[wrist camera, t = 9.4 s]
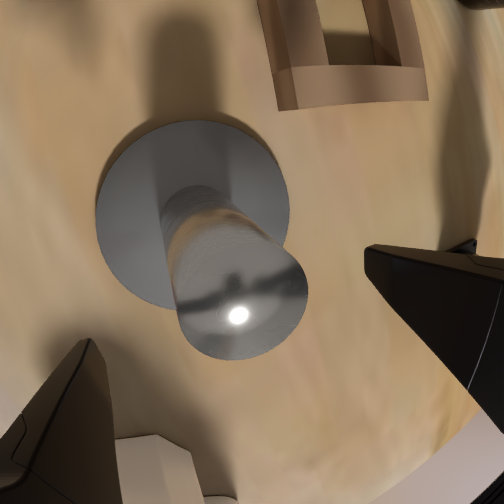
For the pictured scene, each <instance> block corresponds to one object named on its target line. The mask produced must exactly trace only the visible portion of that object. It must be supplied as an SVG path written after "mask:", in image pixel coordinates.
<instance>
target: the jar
mask: <svg viewBox="0 0 504 504" xmlns="http://www.w3.org/2000/svg"><path fill="white" fill-rule="evenodd" d="M115 448H116V458H117V466H118V474H119V481H120V488H121V495H122V501H123V504H205V501H204V498H203V495H202V491H201V488H200V485H199V481H198V478H197V474H196V471H195V467H194V464H193V460H192V456H191V453H190V452H189V451H187V450H185V449H183V448H181V447H179V446H177V445H175V444H173V443H172V442H170V441H168V440H166V439H164V438H163V437H161V436H159V435H157V434H155V435H148V436H141V437H134V438H125V439H116V440H115Z"/></svg>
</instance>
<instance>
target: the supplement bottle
mask: <svg viewBox="0 0 504 504" xmlns="http://www.w3.org/2000/svg"><path fill="white" fill-rule="evenodd" d="M458 1H459V2H460V3H461V4H462V5H464V6H465V7H467V8H469V9H471V10H485V9H497V8H504V0H458Z"/></svg>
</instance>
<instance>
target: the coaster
mask: <svg viewBox="0 0 504 504" xmlns="http://www.w3.org/2000/svg"><path fill="white" fill-rule="evenodd" d="M193 185H204V186H208V187H211V188H214V189H216V190H217V191H219V192H220V193H221V194H223V195H224V196H225V197H226V198H227V199H228V200H229V201H231V202H232V203H233V204H234V205H235V206H236V207H237V208H239V209H240V210H241V211H242V212H243V213H244V214H245V215H247V216H248V217H249V218H250V219H251V220H252V221H253V222H255V223H256V224H257V225H258V226H259V227H260V228H261V229H262V230H264V231H265V232H266V233H267V234H268V235H269V236H270V237H271V238H273V239H274V240H275V241H276V242H277V243H278V244H279V245H280V246H283V244H284V241H285V238H286V234H287V230H288V224H289V211H290V208H289V197H288V192H287V187H286V184H285V181H284V178H283V175H282V173H281V171H280V169H279V167H278V165H277V164H276V162H275V161H274V159H273V158H272V157H271V155H270V154H269V153H268V152H267V150H266V149H265V148H264V147H263V146H262V145H261V144H260V143H258V142H257V141H256V140H255V139H253V138H252V137H251V136H249V135H247V134H246V133H244V132H242V131H241V130H239V129H236V128H234V127H231V126H229V125H226V124H222V123H218V122H213V121H204V120H190V121H182V122H176V123H172V124H169V125H165V126H162V127H159V128H157V129H155V130H153V131H151V132H149V133H147V134H145V135H144V136H142V137H141V138H139V139H138V140H136V141H135V142H134V143H133V144H132V145H130V146H129V147H128V148H127V149H126V150H125V151H124V152H123V153H122V154H121V155H120V157H119V158H118V159H117V160H116V161H115V163H114V164H113V166H112V167H111V169H110V171H109V172H108V174H107V176H106V178H105V180H104V182H103V185H102V187H101V190H100V194H99V197H98V202H97V209H96V232H97V238H98V243H99V246H100V249H101V253H102V255H103V257H104V259H105V261H106V264H107V265H108V267H109V268H110V270H111V271H112V273H113V274H114V276H115V277H116V278H117V279H118V280H119V282H120V283H121V284H122V285H123V286H125V287H126V288H127V289H128V290H129V291H130V292H132V293H133V294H135V295H136V296H138V297H139V298H141V299H143V300H145V301H147V302H149V303H151V304H154V305H157V306H159V307H163V308H167V309H172V310H176V306H175V302H174V297H173V292H172V287H171V282H170V277H169V272H168V266H167V261H166V256H165V250H164V244H163V238H162V233H161V225H160V219H161V213H162V210H163V208H164V206H165V204H166V202H167V201H168V200H169V198H170V197H171V196H172V195H173V194H175V193H176V192H177V191H179V190H181V189H183V188H185V187H188V186H193Z"/></svg>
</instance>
